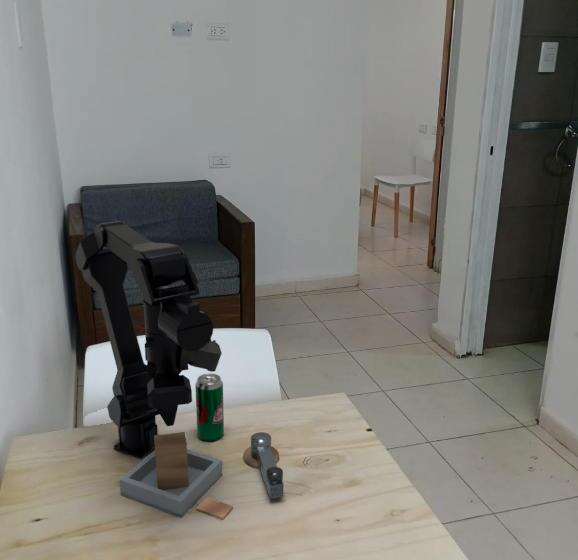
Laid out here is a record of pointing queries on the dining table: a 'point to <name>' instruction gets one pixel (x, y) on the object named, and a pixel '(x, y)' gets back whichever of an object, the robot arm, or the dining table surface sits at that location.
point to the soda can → (209, 407)
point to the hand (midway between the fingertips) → (169, 416)
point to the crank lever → (267, 464)
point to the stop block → (171, 461)
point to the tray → (174, 501)
